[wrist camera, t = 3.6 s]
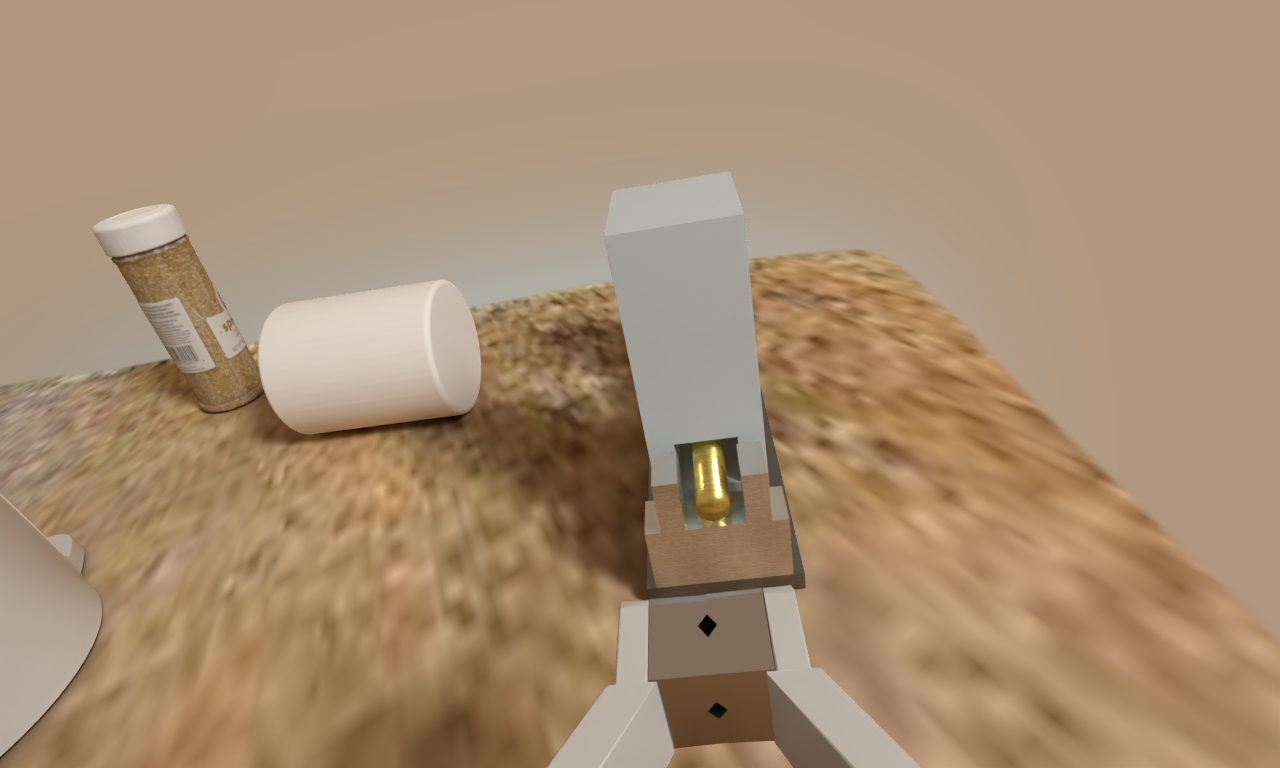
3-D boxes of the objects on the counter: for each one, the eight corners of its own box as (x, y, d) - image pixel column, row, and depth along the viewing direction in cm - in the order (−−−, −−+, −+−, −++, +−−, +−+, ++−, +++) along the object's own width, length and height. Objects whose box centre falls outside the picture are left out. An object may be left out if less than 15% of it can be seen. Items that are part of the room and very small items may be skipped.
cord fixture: (649, 603, 27) (604, 414, 22) (653, 359, 43) (627, 221, 38) (805, 587, 26) (792, 389, 21) (749, 346, 42) (735, 204, 38)
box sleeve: (662, 518, 28) (603, 236, 22) (661, 444, 32) (612, 190, 26) (771, 506, 27) (744, 214, 21) (756, 432, 32) (729, 171, 25)
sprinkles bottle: (282, 385, 49) (186, 201, 42) (221, 421, 46) (107, 229, 39) (249, 375, 51) (153, 200, 45) (189, 408, 48) (76, 225, 42)
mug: (461, 441, 39) (414, 316, 35) (298, 461, 40) (233, 342, 36) (502, 341, 49) (470, 235, 45) (371, 360, 50) (328, 258, 46)
